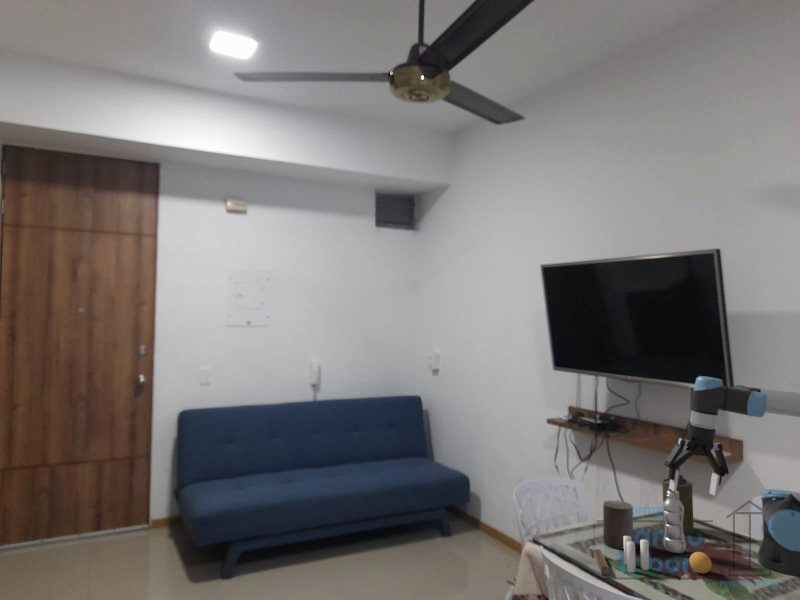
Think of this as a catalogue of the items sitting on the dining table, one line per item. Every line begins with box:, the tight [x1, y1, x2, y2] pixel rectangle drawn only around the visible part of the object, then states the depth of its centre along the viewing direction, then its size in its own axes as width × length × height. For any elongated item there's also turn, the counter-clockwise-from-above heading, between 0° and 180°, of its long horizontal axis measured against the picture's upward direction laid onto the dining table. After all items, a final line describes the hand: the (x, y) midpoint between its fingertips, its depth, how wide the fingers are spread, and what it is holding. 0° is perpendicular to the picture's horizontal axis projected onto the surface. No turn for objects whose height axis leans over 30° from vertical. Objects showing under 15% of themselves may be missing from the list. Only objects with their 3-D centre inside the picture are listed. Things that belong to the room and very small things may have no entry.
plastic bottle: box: [662, 490, 687, 554], centre depth 189 cm, size 6×7×20 cm
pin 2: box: [626, 541, 637, 574], centre depth 174 cm, size 2×2×8 cm
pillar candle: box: [602, 499, 634, 550], centre depth 196 cm, size 10×10×15 cm
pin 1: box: [623, 536, 632, 566], centre depth 179 cm, size 2×2×8 cm
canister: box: [661, 473, 695, 535], centre depth 211 cm, size 11×10×20 cm
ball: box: [689, 551, 713, 574], centre depth 173 cm, size 6×6×6 cm
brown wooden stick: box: [593, 548, 609, 576], centre depth 178 cm, size 2×14×2 cm, turn 170°
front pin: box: [639, 538, 650, 571], centre depth 176 cm, size 2×2×8 cm
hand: (692, 492), depth 178 cm, fingers open, 13 cm apart
